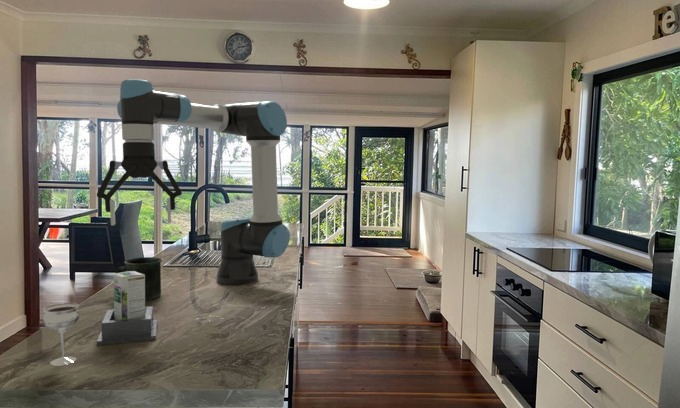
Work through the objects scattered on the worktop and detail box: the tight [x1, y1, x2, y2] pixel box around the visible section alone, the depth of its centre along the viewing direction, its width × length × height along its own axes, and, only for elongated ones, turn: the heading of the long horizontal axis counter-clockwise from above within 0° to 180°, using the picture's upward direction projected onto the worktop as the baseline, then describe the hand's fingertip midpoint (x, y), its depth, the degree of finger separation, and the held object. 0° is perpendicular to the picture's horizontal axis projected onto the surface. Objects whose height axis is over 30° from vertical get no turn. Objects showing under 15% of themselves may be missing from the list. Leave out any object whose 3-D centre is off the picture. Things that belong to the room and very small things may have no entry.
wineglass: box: [43, 302, 80, 367], centre depth 103 cm, size 7×7×12 cm
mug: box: [115, 256, 163, 301], centre depth 153 cm, size 11×15×12 cm
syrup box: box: [113, 271, 146, 320], centre depth 120 cm, size 6×6×14 cm
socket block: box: [96, 305, 158, 346], centre depth 121 cm, size 13×13×5 cm
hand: (141, 223), depth 124 cm, fingers open, 13 cm apart
